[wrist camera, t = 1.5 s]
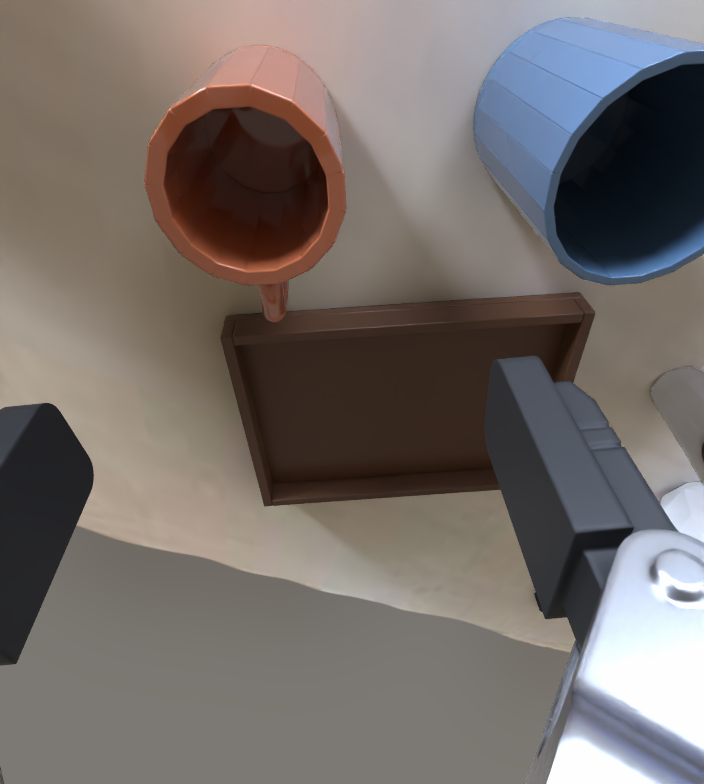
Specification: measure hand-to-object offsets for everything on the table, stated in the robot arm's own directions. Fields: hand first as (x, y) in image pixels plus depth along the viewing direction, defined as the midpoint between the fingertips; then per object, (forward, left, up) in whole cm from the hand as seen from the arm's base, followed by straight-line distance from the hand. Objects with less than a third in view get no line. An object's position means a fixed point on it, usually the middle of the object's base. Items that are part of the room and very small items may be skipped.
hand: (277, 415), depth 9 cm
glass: (+11, +1, -17) cm, 20 cm away
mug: (-1, 0, -17) cm, 17 cm away
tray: (+5, -15, -17) cm, 23 cm away
